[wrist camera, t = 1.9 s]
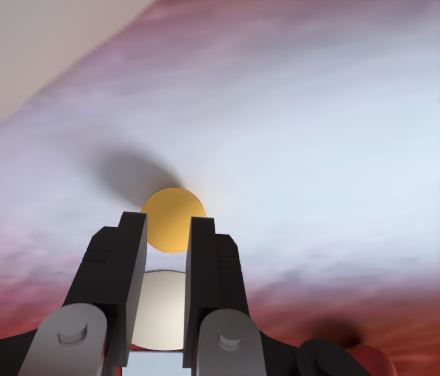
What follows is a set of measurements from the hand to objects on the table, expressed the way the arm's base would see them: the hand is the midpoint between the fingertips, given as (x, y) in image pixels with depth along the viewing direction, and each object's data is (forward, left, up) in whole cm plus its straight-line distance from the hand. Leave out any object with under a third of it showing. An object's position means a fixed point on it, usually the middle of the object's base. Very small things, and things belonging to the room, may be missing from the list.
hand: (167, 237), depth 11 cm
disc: (+24, 0, -17) cm, 30 cm away
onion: (+29, +25, -17) cm, 42 cm away
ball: (+9, 0, -14) cm, 17 cm away
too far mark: (+36, 0, -17) cm, 40 cm away
